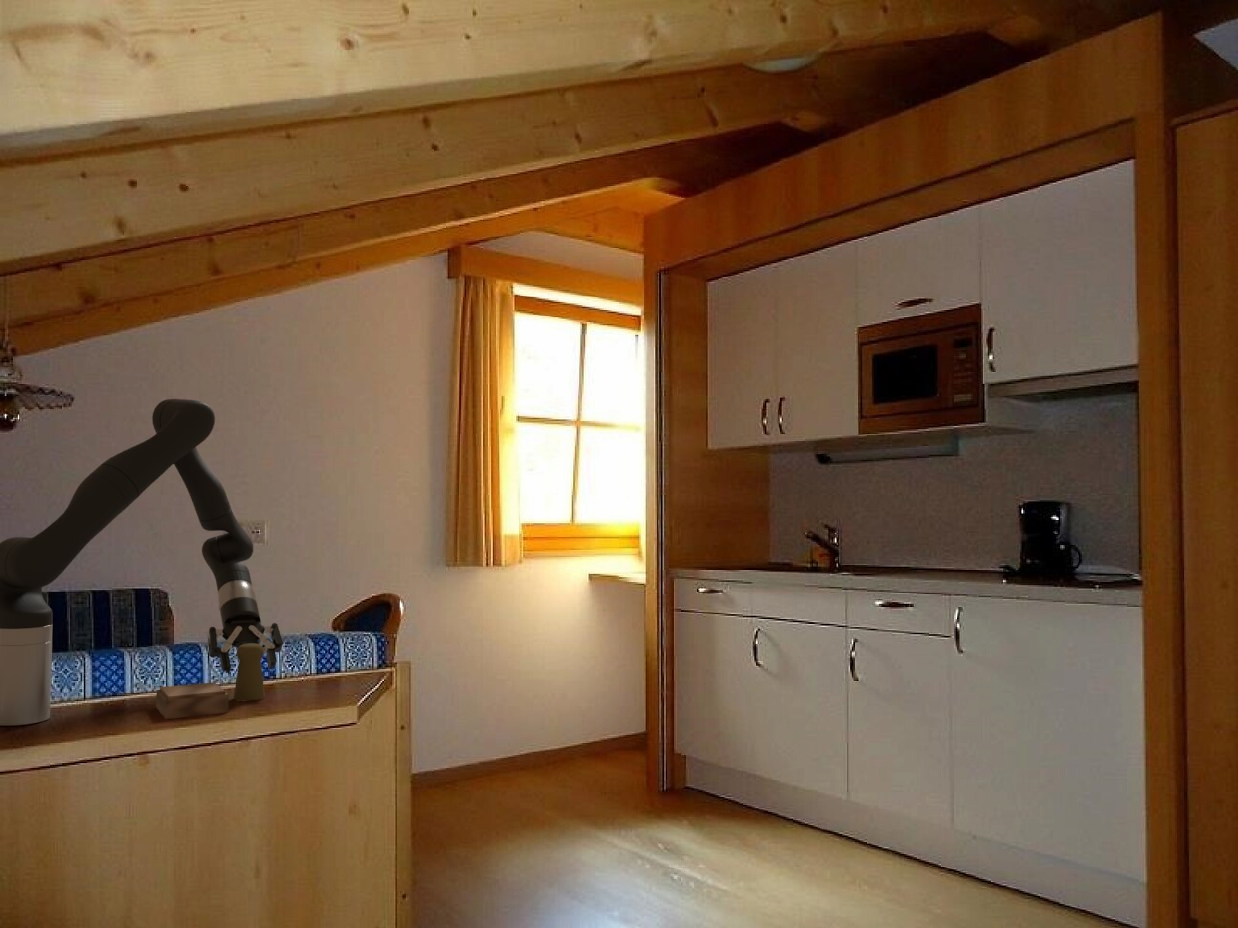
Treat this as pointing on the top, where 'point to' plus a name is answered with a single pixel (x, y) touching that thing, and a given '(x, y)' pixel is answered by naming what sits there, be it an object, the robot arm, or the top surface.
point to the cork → (249, 673)
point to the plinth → (191, 700)
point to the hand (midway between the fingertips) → (250, 668)
